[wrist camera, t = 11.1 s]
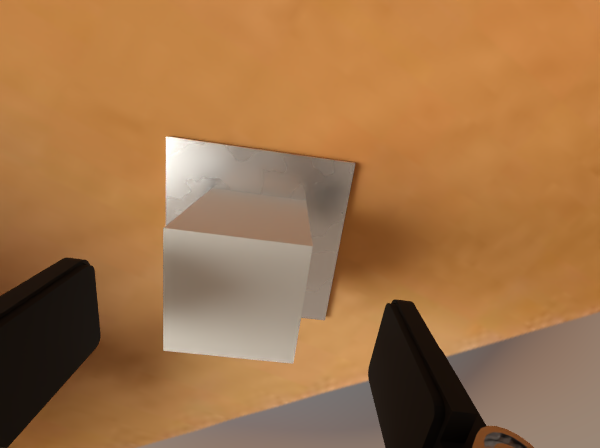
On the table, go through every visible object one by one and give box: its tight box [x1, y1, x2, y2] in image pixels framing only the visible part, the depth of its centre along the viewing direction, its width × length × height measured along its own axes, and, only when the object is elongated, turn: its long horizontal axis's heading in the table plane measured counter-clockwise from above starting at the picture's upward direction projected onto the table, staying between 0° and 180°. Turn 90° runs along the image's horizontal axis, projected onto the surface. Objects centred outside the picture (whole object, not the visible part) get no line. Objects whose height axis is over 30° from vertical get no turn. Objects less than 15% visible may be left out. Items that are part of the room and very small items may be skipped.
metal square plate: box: [166, 136, 355, 320], centre depth 15 cm, size 10×10×6 cm
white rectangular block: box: [163, 188, 313, 364], centre depth 15 cm, size 5×5×7 cm
